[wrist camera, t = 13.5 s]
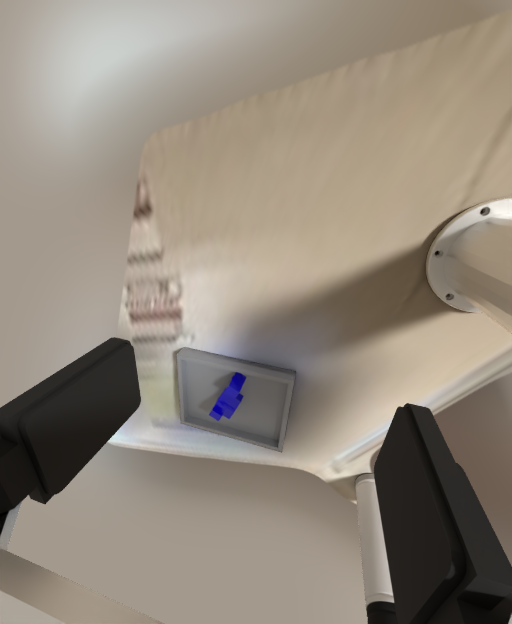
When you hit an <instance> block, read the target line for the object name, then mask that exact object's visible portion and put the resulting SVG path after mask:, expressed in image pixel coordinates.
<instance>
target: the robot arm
mask: <svg viewBox="0 0 512 624" xmlns="http://www.w3.org/2000/svg"><path fill="white" fill-rule="evenodd" d="M481 209H483V212H482V213H481V214H480V211H481ZM436 251H438V254H436V255H435V254H434V253H435V252H436ZM426 276H427V279H428V283H429V285H430V287H431V288H432V290H433V292H434V293H435V294H436V295H437V296H438V297H439V298H440V299H441V300H442V301H444V302H445V303H447V304H448V305H450V306H452V307H454V308H456V309H459V310H462V311H467V312H473V313H484V314H486V315H487V316H488V317H490V318H491V319H492V320H494V321H495V322H497V323H498V324H499V325H501V326H502V327H503V328H505V329H506V330H507V331H509V332H510V333H511V334H512V198H501V199H494V200H491V201H487V202H483V203H481V204H478V205H476V206H473V207H471V208H469V209H467V210H466V211H464V212H462V213H461V214H459V215H457V216H456V217H455V218H454V219H453V220H451V221H450V222H449V223H448V224H447V225H446V226H445V227H444V228H443V229H442V230H441V231H440V232H439V234H438V235H437V237H436V238H435V240H434V241H433V243H432V245H431V247H430V250H429V252H428V255H427V260H426ZM447 294H449V295H448V296H446V295H447ZM140 402H141V397H140V390H139V382H138V375H137V368H136V361H135V354H134V348H133V346H132V345H131V343H130V342H129V341H128V340H124V339H120V338H110V339H109V340H107V341H106V342H104V343H102V344H101V345H99V346H97V347H96V348H94V349H93V350H91V351H90V352H88V353H86V354H85V355H83V356H82V357H80V358H78V359H77V360H75V361H74V362H72V363H71V364H69V365H67V366H66V367H64V368H63V369H61V370H59V371H58V372H56V373H55V374H53V375H52V376H50V377H48V378H47V379H45V380H44V381H42V382H40V383H39V384H37V385H36V386H34V387H33V388H31V389H29V390H28V391H26V392H24V393H23V394H21V395H20V396H18V397H17V398H15V399H13V400H12V401H10V402H9V403H7V404H5V405H4V406H2V407H1V408H0V624H164V623H162V622H159V621H157V620H155V619H153V618H151V617H148V616H147V615H144V614H142V613H140V612H138V611H136V610H134V609H131V608H129V607H127V606H125V605H123V604H121V603H119V602H116V601H114V600H112V599H110V598H108V597H106V596H103V595H101V594H99V593H97V592H95V591H93V590H90V589H88V588H86V587H84V586H82V585H80V584H78V583H75V582H73V581H71V580H69V579H67V578H65V577H62V576H60V575H58V574H56V573H54V572H51V571H49V570H47V569H45V568H43V567H41V566H38V565H36V564H34V563H32V562H30V561H28V560H25V559H23V558H21V557H19V556H17V555H14V554H12V553H10V552H8V551H7V548H8V545H9V541H10V538H11V535H12V532H13V528H14V525H15V522H16V519H17V515H18V512H19V509H20V505H21V502H22V500H23V499H25V498H26V497H27V495H29V496H30V498H31V499H33V500H35V501H38V502H40V503H43V504H46V503H47V502H48V501H49V500H50V499H51V497H52V496H53V495H54V494H57V493H59V492H61V491H62V490H63V489H64V488H65V487H66V486H67V485H68V484H69V483H70V481H71V480H72V479H73V478H74V477H75V476H76V475H77V474H78V473H79V471H80V470H82V468H83V467H84V466H85V465H86V464H87V463H88V462H89V461H90V460H91V459H92V458H93V457H94V455H95V454H96V453H97V452H98V451H99V450H100V449H101V448H102V447H103V446H104V444H106V442H107V441H108V440H109V439H110V438H111V437H112V436H113V435H114V434H115V433H116V432H117V431H118V429H119V428H120V427H121V426H122V425H123V424H124V423H125V422H126V421H127V420H128V419H129V417H130V416H131V415H132V414H133V413H134V412H135V411H136V410H137V409H138V407H139V405H140ZM374 479H375V485H376V492H377V498H378V504H379V510H380V517H381V523H382V529H383V535H384V542H385V548H386V554H387V560H388V567H389V573H390V579H391V585H392V592H393V598H394V604H395V610H396V616H397V621H398V624H512V567H511V564H510V562H509V560H508V558H507V556H506V554H505V552H504V550H503V548H502V546H501V544H500V542H499V540H498V538H497V536H496V534H495V532H494V530H493V528H492V526H491V524H490V522H489V520H488V518H487V516H486V514H485V512H484V510H483V508H482V506H481V504H480V502H479V500H478V498H477V496H476V494H475V492H474V490H473V488H472V486H471V484H470V482H469V480H468V478H467V476H466V474H465V472H464V470H463V469H462V467H461V466H460V465H459V464H458V463H455V460H454V458H453V456H452V454H451V453H450V450H449V448H448V446H447V444H446V442H445V440H444V437H443V435H442V433H441V431H440V429H439V427H438V425H437V423H436V421H435V419H434V417H433V414H432V412H431V411H430V409H429V408H426V407H422V406H417V405H413V404H408V403H407V404H405V405H404V407H398V408H397V410H396V413H395V415H394V418H393V420H392V423H391V425H390V427H389V430H388V432H387V435H386V437H385V440H384V442H383V445H382V447H381V450H380V453H379V455H378V457H377V460H376V462H375V466H374Z"/></svg>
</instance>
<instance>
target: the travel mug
mask: <svg viewBox="0 0 512 624" xmlns="http://www.w3.org/2000/svg"><path fill="white" fill-rule="evenodd" d="M355 490H356V501H357V512H358V523H359V535H360V546H361V557H362V569H363V580H364V591H365V601H366V610H367V617H368V624H398V621H397V616H396V610H395V604H394V598H393V592H392V585H391V579H390V573H389V567H388V560H387V554H386V548H385V542H384V535H383V529H382V523H381V517H380V510H379V504H378V498H377V492H376V485H375V479H374V474H363V475H361V476H359V477H358V478H357V479H356V481H355Z"/></svg>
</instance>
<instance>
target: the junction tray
mask: <svg viewBox="0 0 512 624" xmlns="http://www.w3.org/2000/svg"><path fill="white" fill-rule="evenodd" d="M177 370H178V387H179V403H180V419H181V424H185V425H188V426H192V427H195V428H199V429H202V430H206V431H209V432H213V433H216V434H220V435H223V436H227V437H230V438H234V439H237V440H241V441H244V442H248V443H251V444H255V445H258V446H262V447H265V448H269V449H272V450H276V451H279V452H282V449H283V444H284V439H285V433H286V427H287V421H288V415H289V410H290V404H291V398H292V392H293V386H294V381H295V375H296V371H291V370H286V369H282V368H277V367H273V366H268V365H264V364H259V363H255V362H250V361H246V360H241V359H236V358H232V357H227V356H223V355H218V354H214V353H209V352H205V351H200V350H195V349H191V348H186V347H183V348H182V349H181V350H180V351H179V352H178V353H177ZM235 372H238V373H241V374H243V375H244V376H246V377H247V378H246V380H245V382H244V384H243V386H242V388H241V390H240V392H239V393H240V394H241V395H243V399H242V401H241V403H240V404H239V406H238V407H237V409H236V410H235V412H234V414H233V415H232V416H231V418H230V419H228V418H226V417H224V416H222V417H221V419H220V420H219V421H217V420H216V419H214V418H212V417H211V416H209V413H210V412H211V410H212V408H213V406H214V404H215V403H216V401H217V399H218V398H219V396H220V395H221V393H222V392H223V390H224V389H225V387H226V386H227V384H228V383H229V381H230V380H231V378H232V377H233V375H234V374H235Z"/></svg>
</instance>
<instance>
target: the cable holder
mask: <svg viewBox="0 0 512 624" xmlns="http://www.w3.org/2000/svg"><path fill="white" fill-rule="evenodd" d="M246 378H247V377H246V376H244V375H243V374H241V373H238V372H235V374H234V375H233V377H232V378H231V380H230V381H229V383H228V384H227V386H226V387H225V389H224V390H223V392H222V393H221V395H220V396H219V398H218V399H217V401H216V403H215V404H214V406H213V408H212V410H211V412H210V413H209V416H211V417H212V418H214V419H216V420H217V421H219V420H220V419H221V417H222V416H224V417H226V418H228V419H230V418H231V416H232V415H233V414H234V412H235V410H236V409H237V407H238V406H239V404H240V403H241V401H242V399H243V395H241V394H240V393H239V392H240V390H241V388H242V386H243V384H244V382H245V380H246Z"/></svg>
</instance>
